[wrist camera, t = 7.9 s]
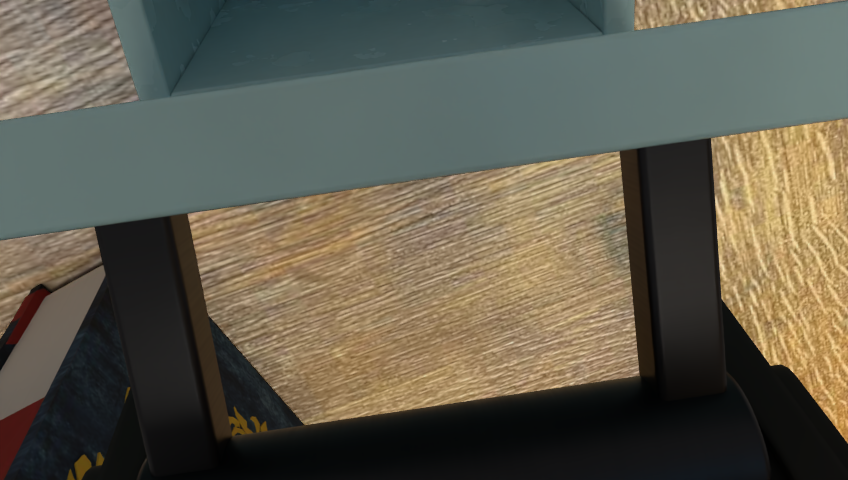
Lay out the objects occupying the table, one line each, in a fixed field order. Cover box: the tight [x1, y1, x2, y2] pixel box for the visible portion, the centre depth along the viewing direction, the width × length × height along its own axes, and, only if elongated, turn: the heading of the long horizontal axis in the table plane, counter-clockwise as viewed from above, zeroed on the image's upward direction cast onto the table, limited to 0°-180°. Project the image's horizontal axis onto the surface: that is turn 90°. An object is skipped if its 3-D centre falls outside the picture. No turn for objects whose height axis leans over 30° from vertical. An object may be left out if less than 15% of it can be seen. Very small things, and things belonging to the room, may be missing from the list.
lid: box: [0, 0, 848, 480], centre depth 13 cm, size 14×13×5 cm
